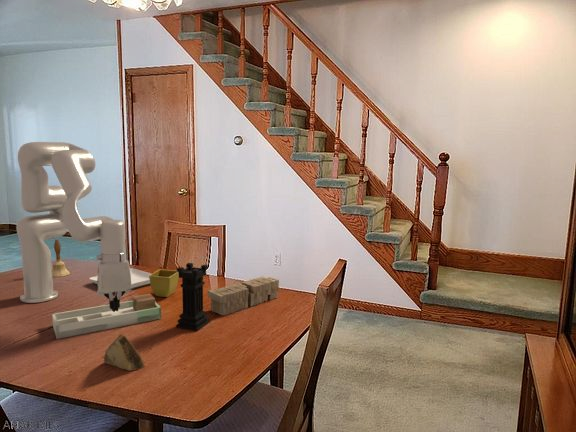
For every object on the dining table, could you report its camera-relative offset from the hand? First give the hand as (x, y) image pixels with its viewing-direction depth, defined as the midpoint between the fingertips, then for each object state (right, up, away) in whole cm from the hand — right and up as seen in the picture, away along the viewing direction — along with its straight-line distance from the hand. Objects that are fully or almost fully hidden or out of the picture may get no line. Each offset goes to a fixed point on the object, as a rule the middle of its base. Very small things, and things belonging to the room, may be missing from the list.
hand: (114, 310), depth 149 cm
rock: (+14, -9, -29) cm, 33 cm away
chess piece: (+27, -5, -1) cm, 27 cm away
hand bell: (-44, +5, +49) cm, 66 cm away
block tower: (+42, -2, +19) cm, 46 cm away
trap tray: (-2, -4, -1) cm, 4 cm away
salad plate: (-11, +2, +39) cm, 41 cm away
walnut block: (+8, -1, +5) cm, 10 cm away
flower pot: (+10, 0, +26) cm, 28 cm away
